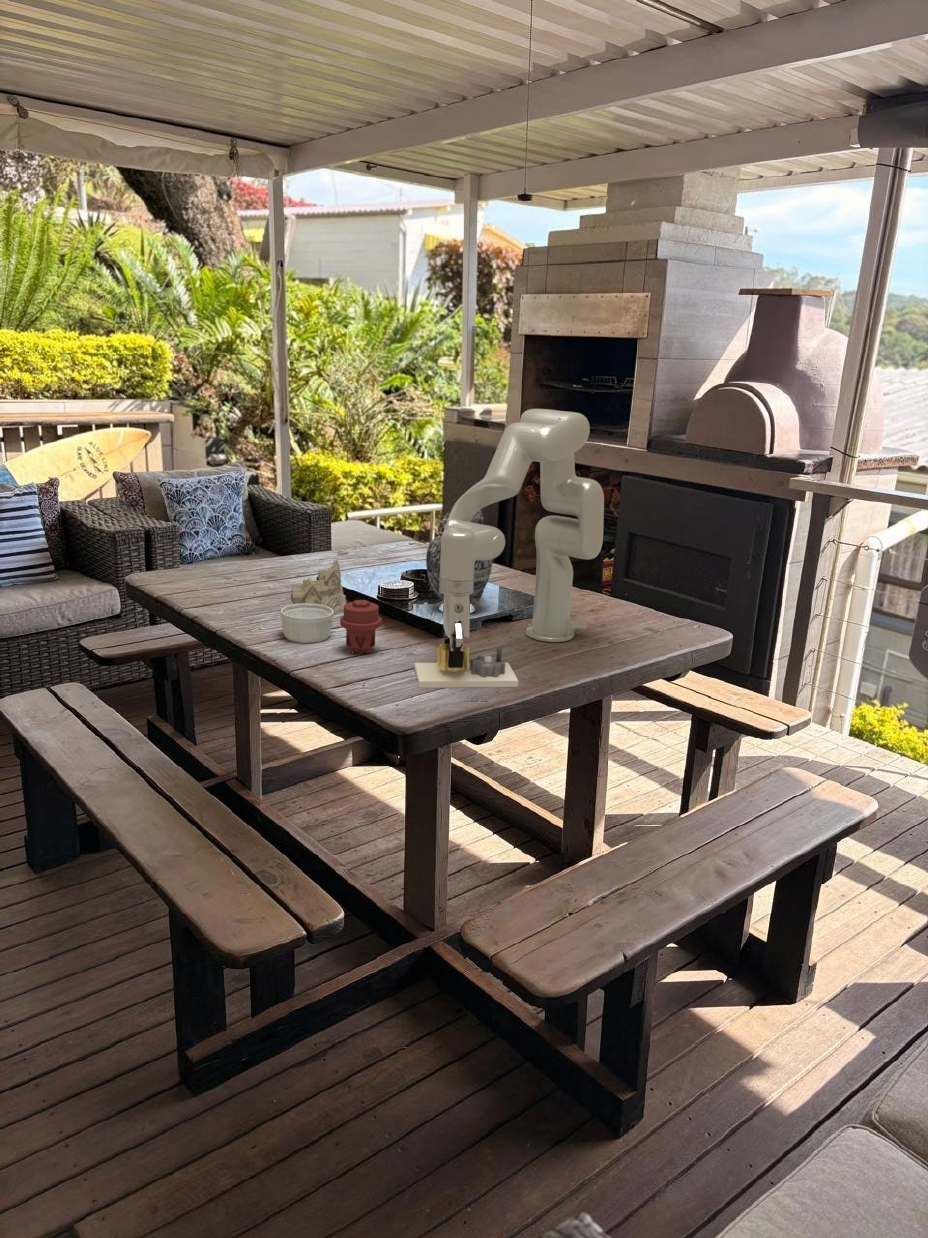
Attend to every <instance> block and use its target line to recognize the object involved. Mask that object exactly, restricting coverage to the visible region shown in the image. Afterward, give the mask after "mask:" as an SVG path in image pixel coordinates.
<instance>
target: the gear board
mask: <svg viewBox="0 0 928 1238" xmlns="http://www.w3.org/2000/svg"><path fill="white" fill-rule="evenodd" d="M502 656H503V648H502V647H496V657H495V656H494V655H483V656H482V655H476V657H475V658H474V657H473V658H472V657H471V658H469V667H467V669H466V670H457V672H453V671H452V670H441V667H437V662H414V672H415V675H416V679H417V683H418V687H419V689H433V688H434V689H436V688H439V689H440V688H441V689H442V688H446V689H447V688H457V689H459V688H519V679H518V678H517V675H516V674H515V672H514V670H513V668H512V667H511V665H510V662H505V658H502Z"/></svg>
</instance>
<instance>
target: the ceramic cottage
mask: <svg viewBox="0 0 928 1238" xmlns="http://www.w3.org/2000/svg"><path fill="white" fill-rule="evenodd" d="M317 572H318V573H317V580H313V579H311V577H310V576H309V577H308V579H307V578H306V579H303V580H302V584H292V586H291V587H292V588H291V594H290V600H291V602H292V605H293V604H307V603H308V604H320V605H324V606H328V607H330V608H332V609H333V611H334V615H340V614H342V613H343V614H344V605H345V604H347V603H348V602H347V596H346V595H345V594H344V589H343V586H342V580H341V579H342V572H341V569H340V562H339V559H333V563H332V565H331V566H330V567H329V568H328V569H318V571H317Z"/></svg>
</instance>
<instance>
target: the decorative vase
mask: <svg viewBox="0 0 928 1238" xmlns="http://www.w3.org/2000/svg"><path fill="white" fill-rule="evenodd" d="M451 511H452V510H449V511H446V514H445V515H443V517H442V520H440V521H439V522H438V526H437V533H438V536H435V537H434V538H433V539H432V540H431V541H430V543H429V545H428V547H427V551H426V555H425V558H426V559H425V561H426V562H425V564H426V566H425V567H426V572H427V577H428V580H429V583H430V586H431V588H432V590H433V592H434V593H435V595H436V596H437V597H438V598H439V600H441V601H442V603H444V594H443V593H441V592H440V591H439V584H440V559H441V537H442V533H443V532H444V528H445V525H446V523H447V520H448V518H449V515H450V513H451ZM470 522H472V523H478V524H482V525H484V514H483V512H482V510H481V509H480V510H479V511H478V512H477V513H476V514H475V515H474V516H473V518H472V519H471V521H470ZM492 567H493V559H490V560H476V561H475V566H474V587H473V593H472V594H470V595H469V601H470V604H472V605H475V604H476V603H479V602H480V601H481V599H482V596H483V594H484V590H485V588H486V586H487V584H488V583H489V579H490V577H491V573H492V569H493V568H492Z"/></svg>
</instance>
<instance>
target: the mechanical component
mask: <svg viewBox="0 0 928 1238" xmlns="http://www.w3.org/2000/svg"><path fill="white" fill-rule="evenodd" d="M379 609H380V608H379V605H378V604H376V603H374V602H370V601H369V600H367V599H356V600H353V601H351V602H346V604H345V605H344V612H343V615H342V616H341V617H340V618H339V625H340V626H341V627H342V628H344V629H345V631H346V633H345V635H346V636H345V637H346V638H345V644H346V646H347V652H348V653H349V652H350V653H349V654H355V653H354V652H364V653H363V654H368V653H370V654H373V651H374V647H375V645H376V630H377V629H379V628H381V627H382V625H383V620H382V617H381V616H379V611H380V610H379ZM352 652H353V653H352Z"/></svg>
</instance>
